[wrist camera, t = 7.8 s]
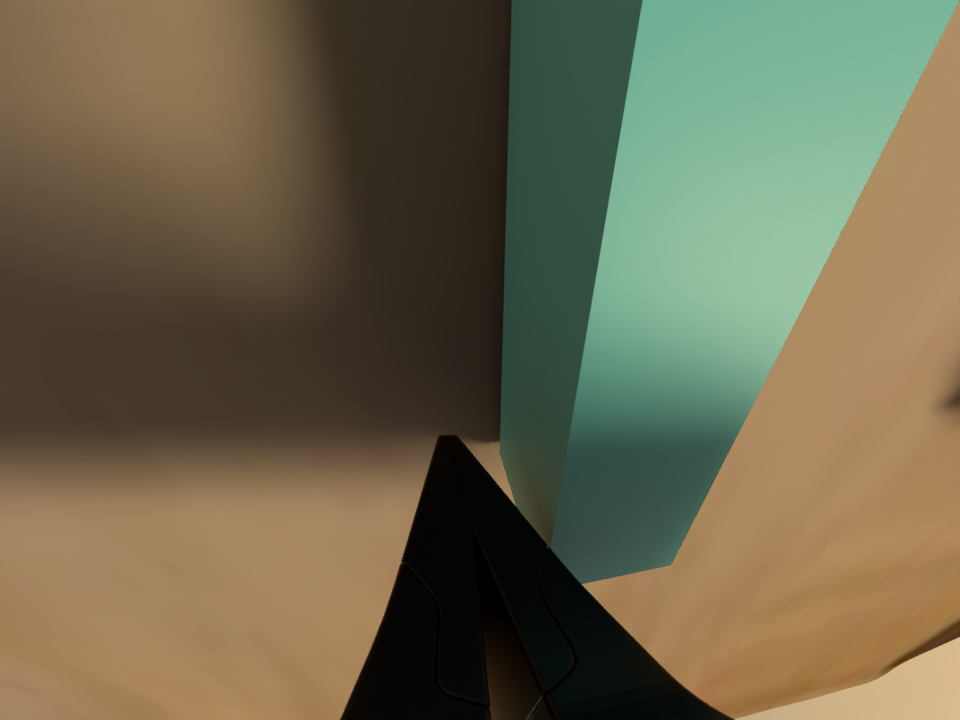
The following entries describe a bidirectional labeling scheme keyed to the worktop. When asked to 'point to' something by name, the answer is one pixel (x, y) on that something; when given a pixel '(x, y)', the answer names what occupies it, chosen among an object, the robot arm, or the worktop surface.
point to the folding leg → (673, 238)
